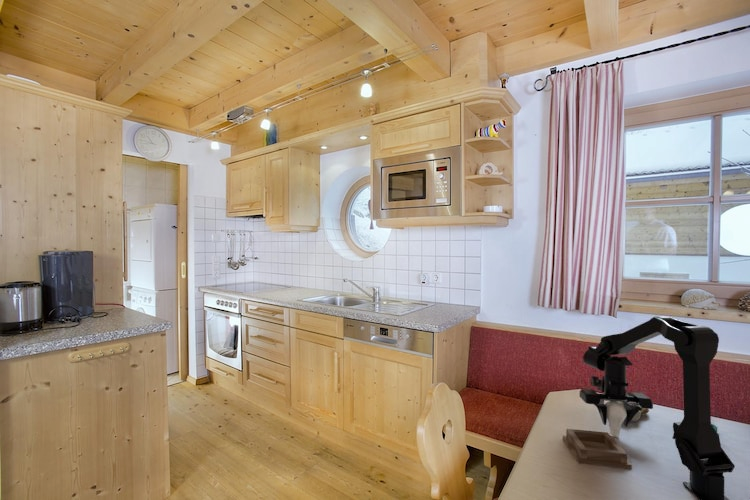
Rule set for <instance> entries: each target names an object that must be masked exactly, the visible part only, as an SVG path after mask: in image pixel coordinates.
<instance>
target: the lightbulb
mask: <svg viewBox="0 0 750 500" xmlns="http://www.w3.org/2000/svg"><path fill="white" fill-rule="evenodd" d="M604 404H605V405H606V406H607V422H608V427H609V435H610V436H612V437H614V438H617V437H620V435H621V434H620V433H621V429H622V424H623V421H624V420H625V418H626V416H627V412H626V409H625V408H624V406H623V405H622V404H620V403H619V402H616V401H606V403H604Z"/></svg>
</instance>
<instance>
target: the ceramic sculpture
mask: <svg viewBox="0 0 750 500" xmlns="http://www.w3.org/2000/svg"><path fill="white" fill-rule="evenodd" d="M629 393H630V392H626V395H627V396H629ZM616 402H618V401H616ZM619 403H620V404H622V405H623V402H619ZM623 406H624V405H623ZM639 407H640V408H642V407H641V406H640V405H639ZM649 412H650V409H646V408H642V411H638V412H637V414H636V415H635V416H634V417H633V418H632V420H631V421H630V422H637V421H638V420H639V419H640V418H641V415H647V414H648V413H649Z"/></svg>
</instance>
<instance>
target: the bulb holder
mask: <svg viewBox="0 0 750 500" xmlns="http://www.w3.org/2000/svg"><path fill="white" fill-rule="evenodd" d="M565 431H566V432H565V433H566V435H562V439H563V441H564V442H565V444H566V445H567V447H568V448H569V449H568V450H570V452H571V453H572V455H573V456H574V458H575V459H576V461H577V462H578V464H582V465H583V464H584V465H590V466H591V465H593V466H601V467H611V468H619V469H629V470H632V469H633V465H632V464H631V463H630V461H629V460H628V453H627V452H626V451H625V450H624V449H623V447H621V445H620V444H619V443H618V442H617V441H616V440H615V439H614V438H613V436H612V435H611V434H610V433H609V432H605V431H594V430H585V429H574V428H566V430H565Z"/></svg>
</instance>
